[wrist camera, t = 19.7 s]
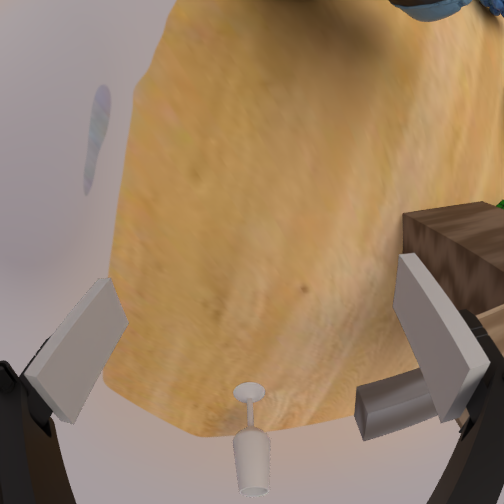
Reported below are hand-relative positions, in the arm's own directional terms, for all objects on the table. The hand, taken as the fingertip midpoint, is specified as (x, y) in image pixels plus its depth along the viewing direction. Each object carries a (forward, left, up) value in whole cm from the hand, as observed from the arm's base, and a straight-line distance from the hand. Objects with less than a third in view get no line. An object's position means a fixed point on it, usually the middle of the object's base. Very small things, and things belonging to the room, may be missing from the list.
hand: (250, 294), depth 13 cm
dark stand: (+14, +36, -34) cm, 51 cm away
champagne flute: (+41, -6, -34) cm, 54 cm away
